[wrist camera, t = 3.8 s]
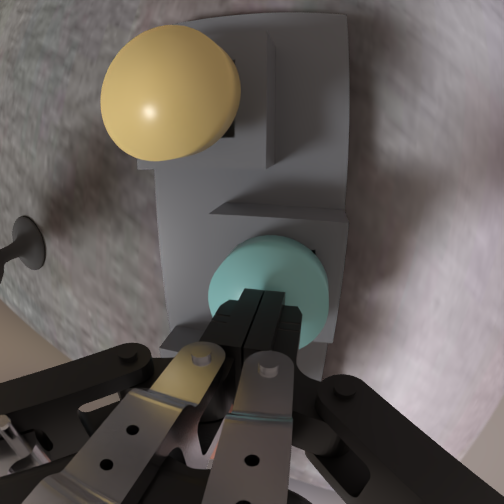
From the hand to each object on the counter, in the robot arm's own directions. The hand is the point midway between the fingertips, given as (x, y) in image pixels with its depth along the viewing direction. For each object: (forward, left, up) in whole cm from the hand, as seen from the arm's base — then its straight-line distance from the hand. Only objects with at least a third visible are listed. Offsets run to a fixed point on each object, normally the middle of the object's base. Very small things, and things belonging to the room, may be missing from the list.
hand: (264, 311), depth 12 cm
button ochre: (-8, -4, -3) cm, 9 cm away
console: (0, -2, -7) cm, 7 cm away
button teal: (0, 0, -5) cm, 5 cm away
